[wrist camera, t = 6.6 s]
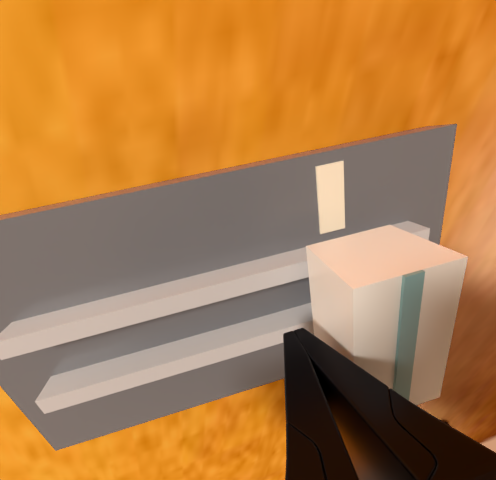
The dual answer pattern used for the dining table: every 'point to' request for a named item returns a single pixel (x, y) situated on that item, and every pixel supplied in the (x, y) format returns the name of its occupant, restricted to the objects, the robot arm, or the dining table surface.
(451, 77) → the dining table surface
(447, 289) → the block
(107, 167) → the dining table surface
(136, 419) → the grey slider panel
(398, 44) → the dining table surface
